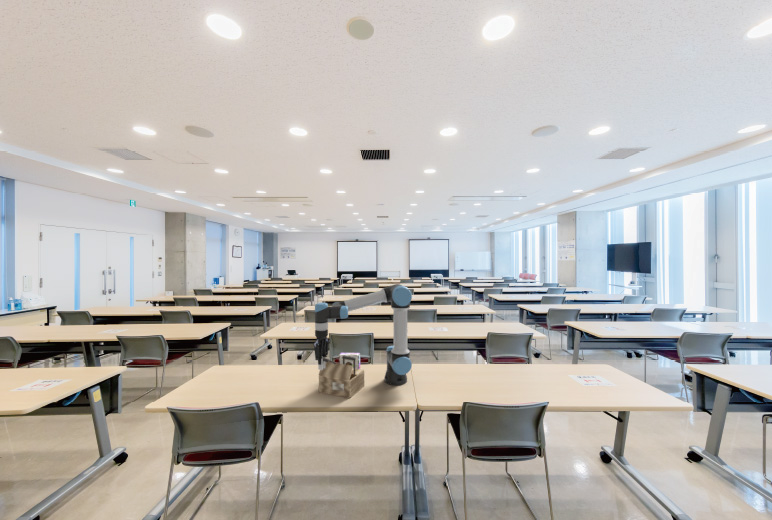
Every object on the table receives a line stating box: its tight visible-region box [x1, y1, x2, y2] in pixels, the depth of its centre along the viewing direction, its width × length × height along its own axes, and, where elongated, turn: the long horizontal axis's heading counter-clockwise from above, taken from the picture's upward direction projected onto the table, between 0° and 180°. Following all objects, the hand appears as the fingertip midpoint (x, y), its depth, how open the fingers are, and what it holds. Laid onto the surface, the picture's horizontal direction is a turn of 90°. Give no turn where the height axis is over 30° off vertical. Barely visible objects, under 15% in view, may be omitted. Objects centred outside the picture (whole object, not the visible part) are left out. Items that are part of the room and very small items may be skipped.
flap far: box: [342, 356, 365, 376], centre depth 202 cm, size 22×9×11 cm, turn 66°
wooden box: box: [318, 370, 365, 399], centre depth 198 cm, size 22×18×10 cm
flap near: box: [314, 357, 353, 381], centre depth 188 cm, size 22×9×11 cm
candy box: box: [338, 352, 361, 369], centre depth 217 cm, size 14×6×16 cm, turn 84°
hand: (321, 368), depth 188 cm, fingers closed on flap near, 2 cm apart
